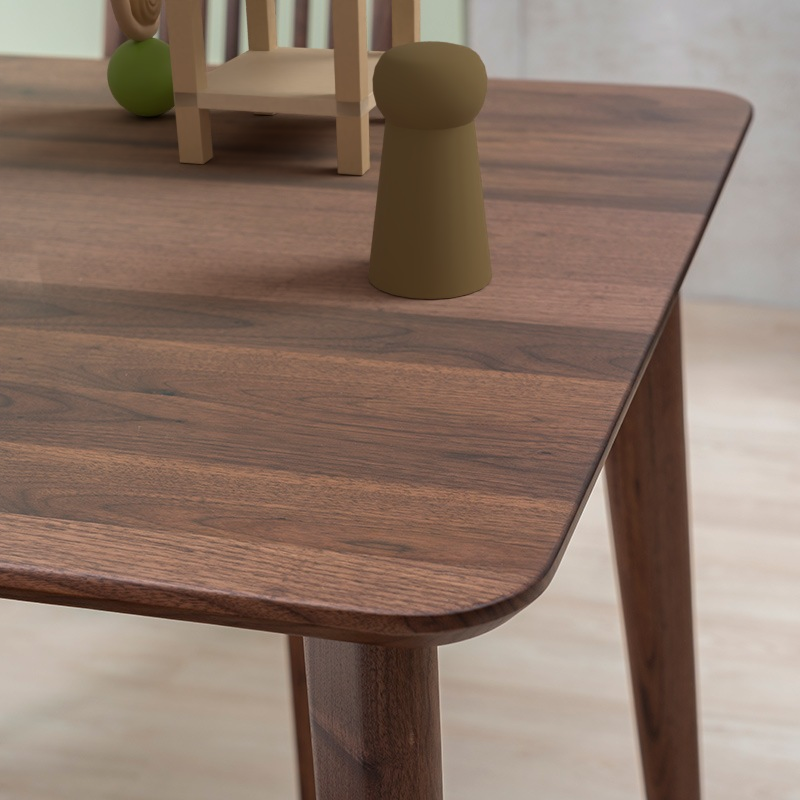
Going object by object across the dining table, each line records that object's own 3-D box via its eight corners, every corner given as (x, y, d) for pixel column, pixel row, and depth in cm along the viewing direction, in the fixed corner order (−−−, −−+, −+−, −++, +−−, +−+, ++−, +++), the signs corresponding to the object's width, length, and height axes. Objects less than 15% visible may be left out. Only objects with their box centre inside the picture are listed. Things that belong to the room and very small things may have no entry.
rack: (179, 162, 79) (161, -38, 73) (260, 108, 91) (249, -68, 85) (362, 175, 76) (357, -33, 70) (421, 118, 88) (420, -64, 82)
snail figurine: (90, 125, 87) (68, -57, 82) (134, 103, 93) (115, -69, 87) (162, 131, 86) (144, -55, 80) (201, 108, 91) (187, -67, 86)
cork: (466, 248, 64) (469, 28, 60) (511, 289, 59) (518, 52, 54) (353, 261, 63) (346, 37, 58) (389, 305, 58) (385, 63, 53)
